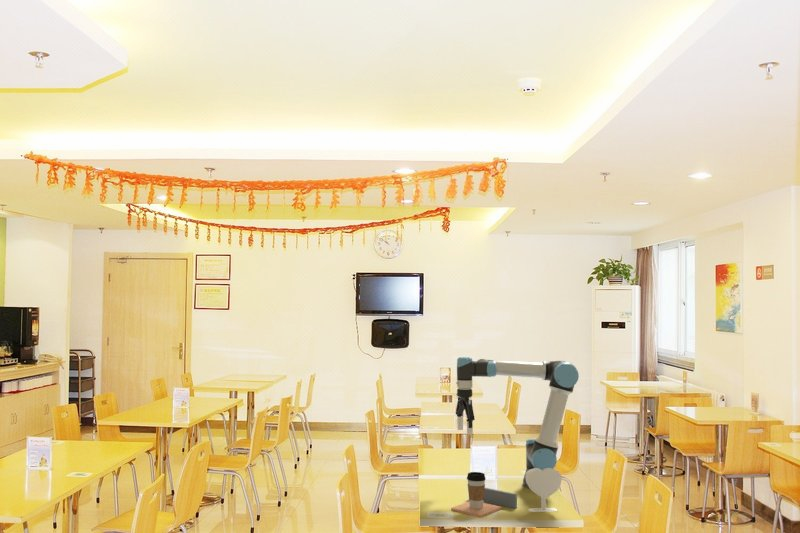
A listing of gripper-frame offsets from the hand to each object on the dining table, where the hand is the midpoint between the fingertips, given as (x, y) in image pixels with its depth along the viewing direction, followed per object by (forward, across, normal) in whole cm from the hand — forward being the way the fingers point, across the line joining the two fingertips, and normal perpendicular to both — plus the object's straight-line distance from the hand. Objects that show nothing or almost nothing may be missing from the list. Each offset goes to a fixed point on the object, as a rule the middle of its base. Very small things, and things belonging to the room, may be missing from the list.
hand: (464, 432), depth 335 cm
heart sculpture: (+29, +38, +23) cm, 53 cm away
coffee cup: (+28, +30, -6) cm, 41 cm away
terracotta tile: (+29, +30, -6) cm, 42 cm away
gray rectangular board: (+29, +22, +6) cm, 37 cm away
